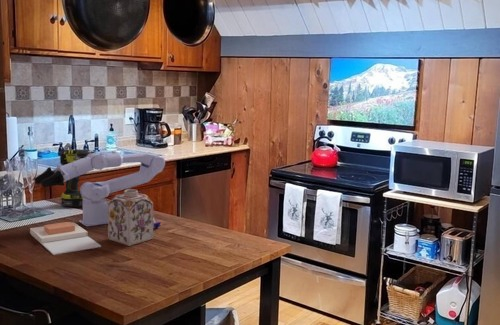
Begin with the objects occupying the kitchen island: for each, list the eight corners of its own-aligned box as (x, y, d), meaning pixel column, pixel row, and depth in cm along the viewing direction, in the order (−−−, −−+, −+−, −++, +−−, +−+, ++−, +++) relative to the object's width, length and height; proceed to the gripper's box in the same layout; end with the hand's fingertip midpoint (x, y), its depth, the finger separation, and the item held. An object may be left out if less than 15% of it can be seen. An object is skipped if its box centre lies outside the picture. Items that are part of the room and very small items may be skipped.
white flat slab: (74, 227, 199) (73, 222, 199) (87, 237, 189) (87, 231, 188) (30, 233, 190) (29, 228, 189) (41, 244, 179) (41, 238, 179)
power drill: (99, 207, 229) (99, 151, 225) (59, 208, 226) (58, 150, 222) (101, 202, 238) (101, 148, 234) (62, 202, 235) (61, 147, 231)
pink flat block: (69, 226, 193) (69, 221, 193) (74, 231, 188) (74, 225, 188) (44, 230, 188) (44, 225, 187) (49, 234, 183) (49, 229, 183)
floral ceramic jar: (132, 232, 196) (132, 185, 193) (154, 239, 190) (154, 190, 187) (106, 239, 187) (106, 190, 184) (128, 246, 180) (128, 195, 177)
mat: (88, 237, 188) (88, 236, 188) (101, 246, 179) (101, 245, 179) (42, 244, 179) (42, 243, 178) (53, 255, 169) (53, 253, 169)
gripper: (63, 157, 202) (28, 170, 195) (77, 162, 191) (41, 175, 183) (69, 174, 204) (35, 187, 197) (83, 179, 193) (47, 194, 186)
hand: (38, 182), depth 190 cm, fingers open, 7 cm apart
